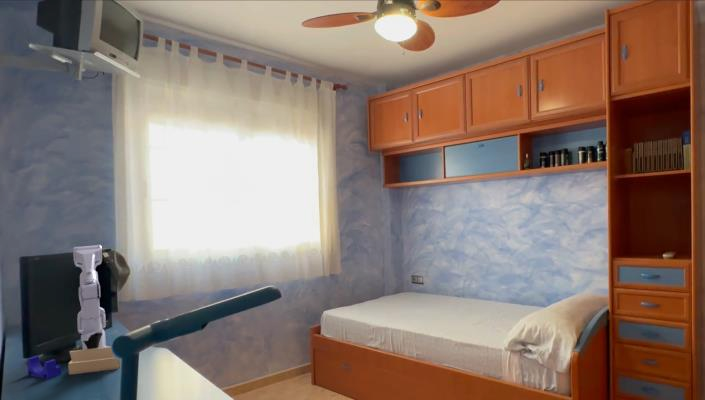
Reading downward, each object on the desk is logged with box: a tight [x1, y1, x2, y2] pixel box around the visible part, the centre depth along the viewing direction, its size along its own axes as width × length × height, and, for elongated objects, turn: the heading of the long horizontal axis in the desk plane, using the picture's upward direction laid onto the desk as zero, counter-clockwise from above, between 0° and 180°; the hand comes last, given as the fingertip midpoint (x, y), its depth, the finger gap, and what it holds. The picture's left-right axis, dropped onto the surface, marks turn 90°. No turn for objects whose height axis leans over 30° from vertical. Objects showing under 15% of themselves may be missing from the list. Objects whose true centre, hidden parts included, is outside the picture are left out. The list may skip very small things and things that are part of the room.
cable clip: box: [26, 355, 62, 380], centre depth 155 cm, size 12×4×6 cm, turn 64°
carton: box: [67, 357, 121, 375], centre depth 162 cm, size 14×17×4 cm
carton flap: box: [69, 346, 114, 362], centre depth 154 cm, size 4×14×1 cm
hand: (93, 354), depth 155 cm, fingers closed, pressing on carton flap
